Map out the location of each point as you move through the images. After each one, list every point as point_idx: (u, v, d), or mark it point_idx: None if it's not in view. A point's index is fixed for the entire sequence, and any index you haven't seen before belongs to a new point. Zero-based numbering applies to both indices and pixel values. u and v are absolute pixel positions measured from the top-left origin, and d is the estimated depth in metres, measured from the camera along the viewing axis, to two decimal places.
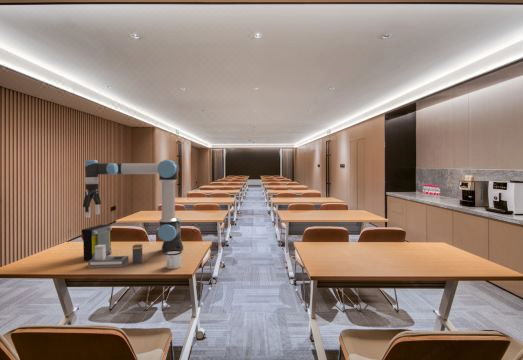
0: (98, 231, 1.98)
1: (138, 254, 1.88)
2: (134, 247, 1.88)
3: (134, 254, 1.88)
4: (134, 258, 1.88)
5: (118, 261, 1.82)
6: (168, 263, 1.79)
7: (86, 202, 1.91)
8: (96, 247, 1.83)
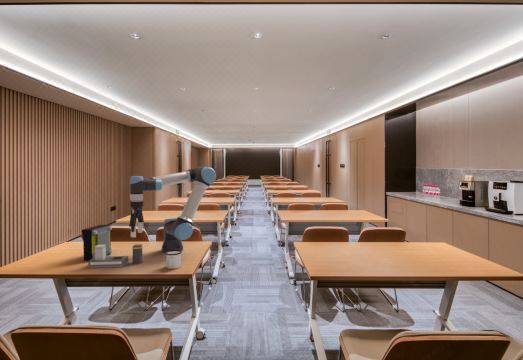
0: (98, 231, 1.98)
1: (138, 254, 1.88)
2: (134, 247, 1.88)
3: (134, 254, 1.88)
4: (134, 258, 1.88)
5: (118, 261, 1.82)
6: (168, 263, 1.79)
7: (132, 221, 1.81)
8: (96, 247, 1.83)
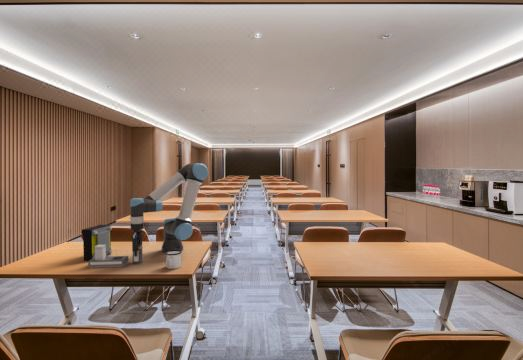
0: (98, 231, 1.98)
1: None
2: None
3: None
4: None
5: (118, 261, 1.82)
6: (168, 263, 1.79)
7: (135, 247, 1.84)
8: (96, 247, 1.83)
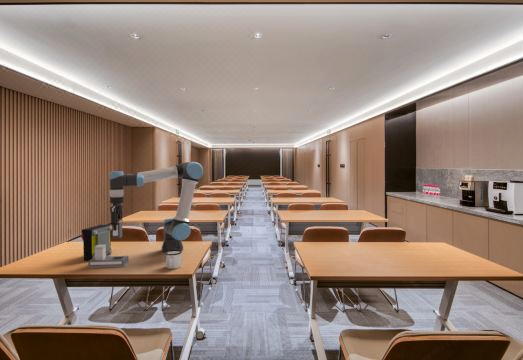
0: (98, 231, 1.98)
1: None
2: None
3: None
4: None
5: (118, 261, 1.82)
6: (168, 263, 1.79)
7: (114, 220, 1.80)
8: (96, 247, 1.83)
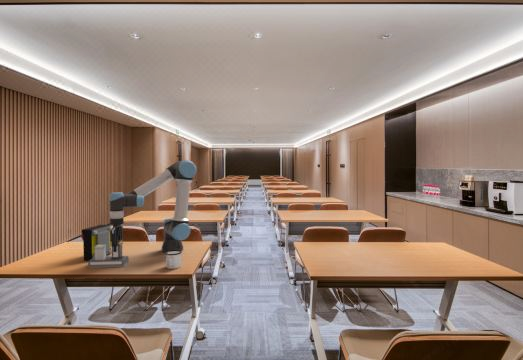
0: (98, 231, 1.98)
1: None
2: None
3: None
4: None
5: (118, 261, 1.82)
6: (168, 263, 1.79)
7: (114, 242, 1.80)
8: (96, 247, 1.83)
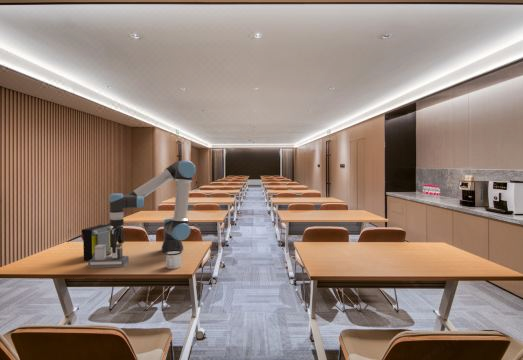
0: (98, 231, 1.98)
1: (118, 254, 1.84)
2: None
3: None
4: (114, 258, 1.84)
5: (118, 261, 1.82)
6: (168, 263, 1.79)
7: (113, 242, 1.79)
8: (96, 247, 1.83)
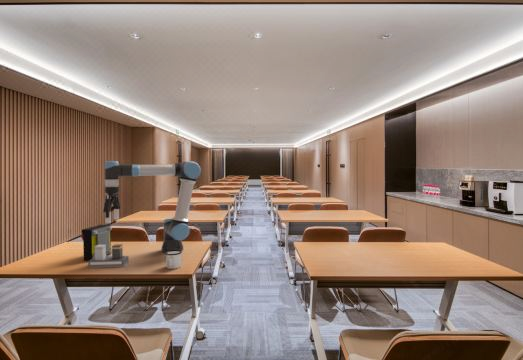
0: (98, 231, 1.98)
1: (118, 254, 1.84)
2: (114, 247, 1.84)
3: (114, 254, 1.84)
4: (114, 258, 1.84)
5: (118, 261, 1.82)
6: (168, 263, 1.79)
7: (107, 207, 1.76)
8: (96, 247, 1.83)
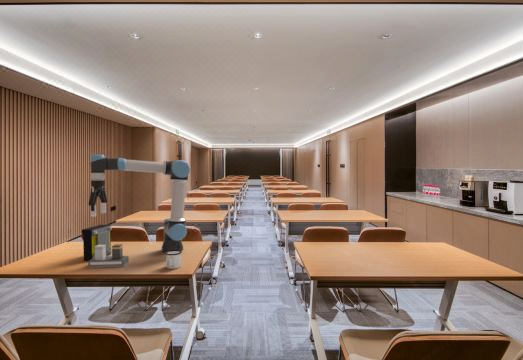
0: (98, 231, 1.98)
1: (118, 254, 1.84)
2: (114, 247, 1.84)
3: (114, 254, 1.84)
4: (114, 258, 1.84)
5: (118, 261, 1.82)
6: (168, 263, 1.79)
7: (92, 200, 1.76)
8: (96, 247, 1.83)
